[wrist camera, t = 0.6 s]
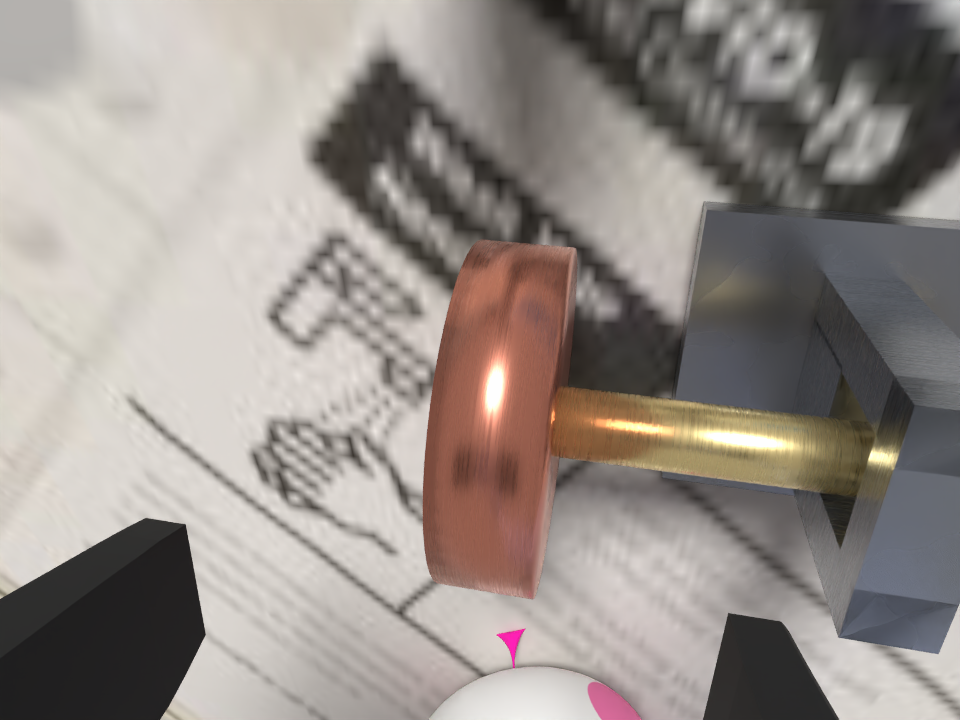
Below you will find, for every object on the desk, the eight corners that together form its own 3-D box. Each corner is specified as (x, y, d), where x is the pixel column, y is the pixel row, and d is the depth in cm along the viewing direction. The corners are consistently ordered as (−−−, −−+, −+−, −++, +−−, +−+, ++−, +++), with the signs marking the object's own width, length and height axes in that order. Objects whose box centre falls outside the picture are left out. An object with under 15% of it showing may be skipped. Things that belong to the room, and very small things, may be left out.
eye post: (1046, 227, 16) (1301, 365, 9) (944, 498, 19) (1088, 733, 13) (703, 201, 17) (737, 310, 11) (661, 461, 20) (668, 659, 14)
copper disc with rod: (1068, 247, 14) (1369, 417, 8) (959, 524, 17) (1125, 794, 11) (503, 203, 16) (421, 315, 10) (492, 459, 19) (423, 663, 13)
